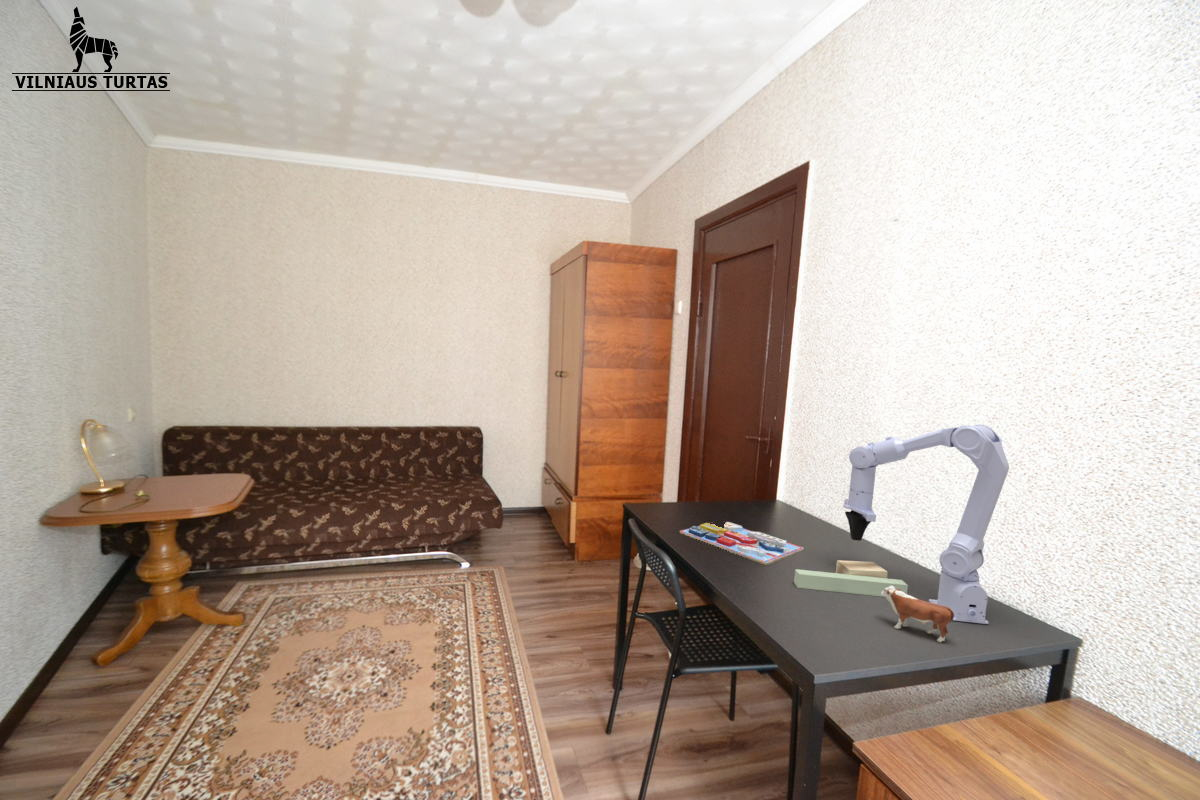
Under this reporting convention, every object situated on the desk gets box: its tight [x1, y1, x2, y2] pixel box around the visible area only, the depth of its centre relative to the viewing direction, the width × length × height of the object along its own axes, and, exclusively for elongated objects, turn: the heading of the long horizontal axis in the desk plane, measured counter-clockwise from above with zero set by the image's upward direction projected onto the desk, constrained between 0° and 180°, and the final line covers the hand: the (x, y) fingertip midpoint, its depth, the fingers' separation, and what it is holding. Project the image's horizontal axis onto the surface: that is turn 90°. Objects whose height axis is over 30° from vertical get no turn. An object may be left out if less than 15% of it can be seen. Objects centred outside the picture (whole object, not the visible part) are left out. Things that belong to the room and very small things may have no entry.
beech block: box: [835, 560, 889, 579], centre depth 128 cm, size 6×10×5 cm, turn 93°
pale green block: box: [793, 568, 909, 598], centre depth 123 cm, size 3×26×4 cm, turn 85°
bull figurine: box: [881, 586, 954, 644], centre depth 105 cm, size 4×13×8 cm, turn 51°
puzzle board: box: [679, 521, 805, 567], centre depth 155 cm, size 30×23×3 cm
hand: (855, 539), depth 135 cm, fingers closed
